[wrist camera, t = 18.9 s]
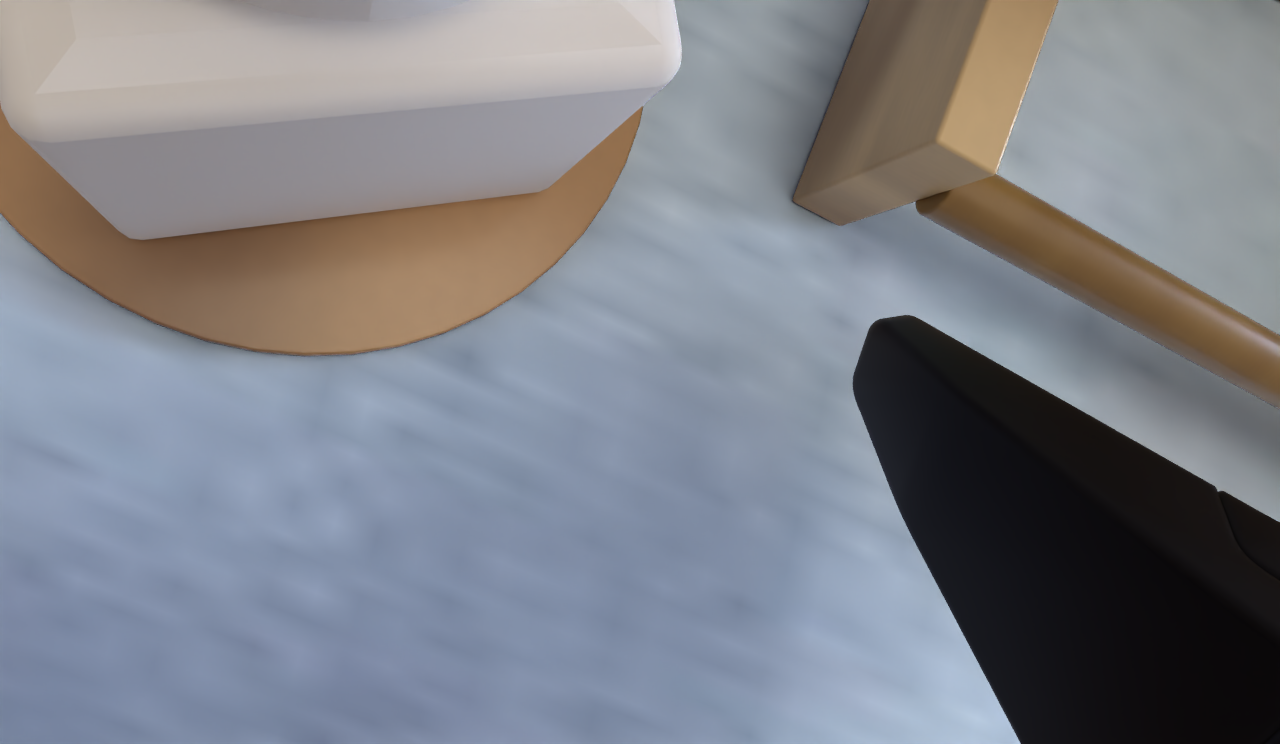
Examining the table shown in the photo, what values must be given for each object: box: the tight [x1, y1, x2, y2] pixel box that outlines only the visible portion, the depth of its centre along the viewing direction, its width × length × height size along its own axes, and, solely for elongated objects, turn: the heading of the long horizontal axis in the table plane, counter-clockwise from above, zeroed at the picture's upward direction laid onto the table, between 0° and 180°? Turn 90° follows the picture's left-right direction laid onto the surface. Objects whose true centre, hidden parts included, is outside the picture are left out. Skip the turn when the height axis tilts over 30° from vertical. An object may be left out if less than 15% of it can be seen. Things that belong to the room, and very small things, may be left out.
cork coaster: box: [0, 104, 643, 356], centre depth 18 cm, size 12×12×1 cm
